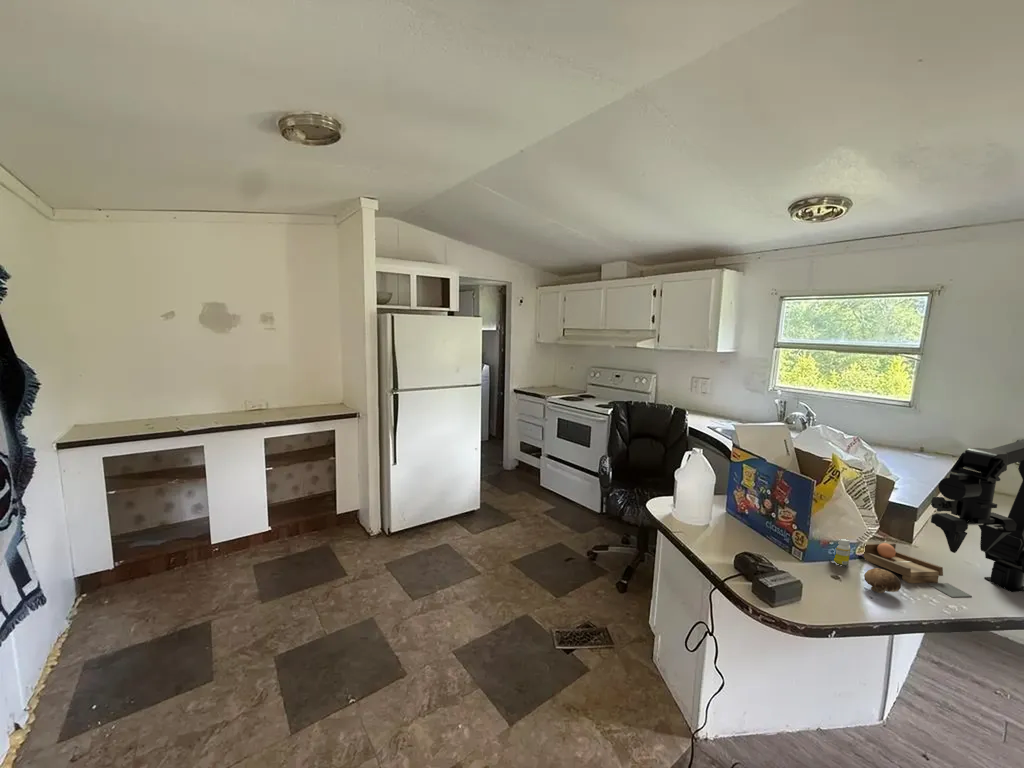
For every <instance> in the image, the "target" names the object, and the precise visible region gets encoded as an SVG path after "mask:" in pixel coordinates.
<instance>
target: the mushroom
mask: <svg viewBox="0 0 1024 768" xmlns="http://www.w3.org/2000/svg"><path fill="white" fill-rule="evenodd" d="M863 577H864V578H863V579H864V581H865V582H866V583H867V584H868V585H869V586H871V587H870V589H871V590H872V591H874V593H875V592H876V593H878V594H884V593H885V592H888V593H891V592H892V593H894V592H895V593H897V592H898V591H900V590H901V588H902V581H901V580H900V578H899V577H898V576H897V575H896V574H894V573H893V572H891V571H890V570H888V569H885V568H879V567H874V568H871V569H868V570H867V571H865V573H863Z"/></svg>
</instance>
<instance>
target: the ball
mask: <svg viewBox="0 0 1024 768" xmlns="http://www.w3.org/2000/svg"><path fill="white" fill-rule="evenodd" d="M877 551H878V553H879V554H880V555H881V556H882V557H884V558H893V557H894V556H895V554H896V552H897V551H896V548H895V549H894V547H893V546H891V545H890V544H887V543H882V544H879V545H878V547H877Z"/></svg>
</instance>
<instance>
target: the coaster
mask: <svg viewBox="0 0 1024 768" xmlns="http://www.w3.org/2000/svg"><path fill="white" fill-rule="evenodd" d="M927 585H928V586H930V587H932V588H933V589H935V590H938V591H940V592H941V593H942V594H944V595H946V596H948V597H950V598H972V597H973V596H972V595H971V594H970V593H967V592H966V591H964V590H961V589H960V588H958V587H956V586H954V585H952V584H950V583H948V582H937V583H927Z"/></svg>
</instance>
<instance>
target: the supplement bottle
mask: <svg viewBox="0 0 1024 768" xmlns="http://www.w3.org/2000/svg"><path fill="white" fill-rule="evenodd" d="M850 541H851V540H846V539H841V540H840V539H839V542H838V544H839V545H838V546H837V548H836V555H835V558H834V561H835V562H836V563H837V564H839V565H842V566H848V567H849V563H850V555H851V545H850V544H851V542H850Z"/></svg>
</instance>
